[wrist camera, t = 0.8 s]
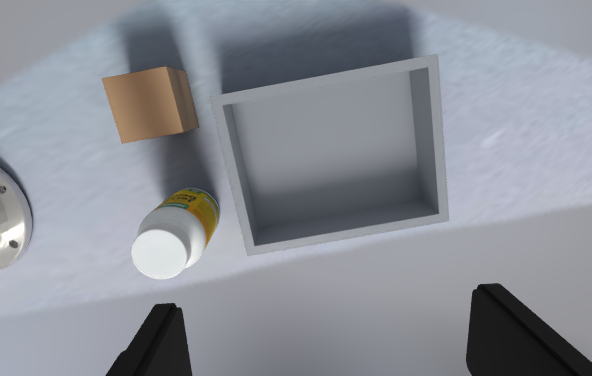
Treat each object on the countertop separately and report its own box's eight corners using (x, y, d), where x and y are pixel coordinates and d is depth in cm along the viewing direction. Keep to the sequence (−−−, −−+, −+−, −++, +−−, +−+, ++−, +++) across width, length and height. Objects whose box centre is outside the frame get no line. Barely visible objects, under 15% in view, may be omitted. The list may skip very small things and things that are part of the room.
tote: (253, 234, 34) (247, 256, 29) (222, 97, 31) (209, 96, 26) (426, 203, 34) (449, 221, 29) (414, 60, 30) (437, 53, 25)
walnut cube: (147, 136, 32) (121, 143, 27) (131, 81, 30) (101, 78, 26) (199, 127, 32) (183, 132, 27) (185, 71, 30) (165, 66, 25)
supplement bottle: (180, 244, 34) (140, 298, 25) (157, 196, 33) (106, 234, 24) (229, 227, 34) (207, 275, 25) (208, 178, 33) (176, 209, 23)
